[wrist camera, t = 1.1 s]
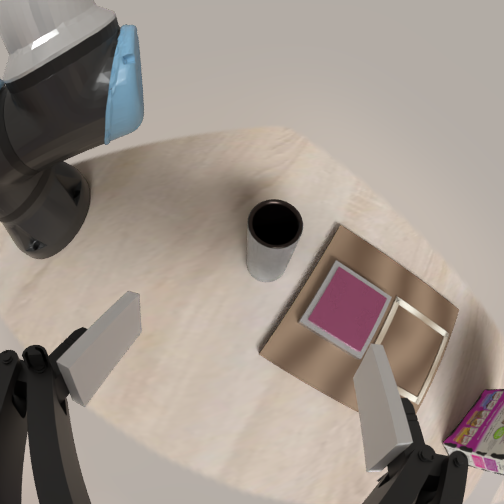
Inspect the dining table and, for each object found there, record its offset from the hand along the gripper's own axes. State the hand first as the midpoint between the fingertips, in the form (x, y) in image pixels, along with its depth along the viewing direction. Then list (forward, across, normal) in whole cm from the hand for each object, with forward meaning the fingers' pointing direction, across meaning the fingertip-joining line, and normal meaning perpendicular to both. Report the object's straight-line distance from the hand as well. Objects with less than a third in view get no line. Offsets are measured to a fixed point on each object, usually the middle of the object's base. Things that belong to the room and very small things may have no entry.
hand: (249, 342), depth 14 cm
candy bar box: (+6, +34, -17) cm, 39 cm away
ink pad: (+15, +9, -5) cm, 18 cm away
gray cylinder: (+18, 0, -3) cm, 18 cm away
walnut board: (+14, +14, -7) cm, 21 cm away
